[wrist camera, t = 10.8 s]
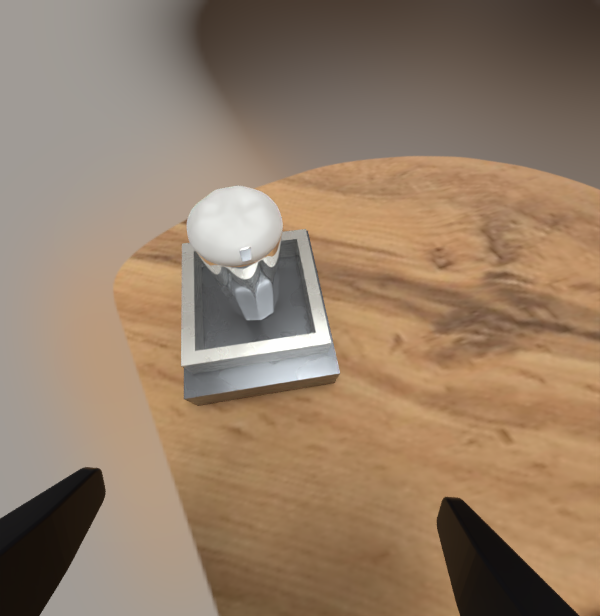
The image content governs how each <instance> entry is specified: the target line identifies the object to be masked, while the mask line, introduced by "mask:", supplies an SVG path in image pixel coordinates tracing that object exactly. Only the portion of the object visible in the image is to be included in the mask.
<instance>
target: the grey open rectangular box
mask: <svg viewBox="0 0 600 616" xmlns="http://www.w3.org/2000/svg"><path fill="white" fill-rule="evenodd" d="M181 366H182V367H183V368H184V399H185V400H187V401H189V402H191V403H194V404H196V405H198V406H199V405H205V404H211V403H217V402H223V401H229V400H235V399H240V398H246V397H252V396H258V395H264V394H270V393H276V392H282V391H288V390H294V389H300V388H306V387H312V386H318V385H324V384H330V383H335V381H336V379H337V378H338V376H339V374H340V371H339V366H338V362H337V358H336V353H335V349H334V344H333V340H332V336H331V331H330V327H329V322H328V318H327V313H326V309H325V305H324V300H323V296H322V291H321V287H320V283H319V278H318V274H317V269H316V265H315V261H314V256H313V252H312V247H311V243H310V239H309V234H308V231H306V229H302V230H294V231H285V232H282V240H281V251H280V268H279V292H278V302H277V304H276V307H275V309H274V312H273V313H272V314H270V315H269V316H267V317H265V318H264V319H262V320H246V319H244V318H243V317H242V316H240V315H239V314H237V313H236V312H235V311H234V309H233V308H232V306H231V304H230V303H229V301H228V300H227V298H226V296H225V295H224V293H223V292H222V290H221V288H220V287H219V285H218V284H217V282H216V280H215V279H214V277H213V276H212V274H211V273H210V271H209V270H208V268H207V267H206V265H205V264H204V262H203V261H202V260H201V258H200V257H199V255H198V254H197V252H196V251H195V250H194V249H193V247H192V246H191V244H190V243H184V244H182V332H181Z"/></svg>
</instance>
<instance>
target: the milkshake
mask: <svg viewBox="0 0 600 616" xmlns="http://www.w3.org/2000/svg"><path fill="white" fill-rule="evenodd" d="M282 229H283V222H282V217H281V214H280V211H279V209H278V207H277V205H276V204H275V203H274V201H273V200H272V199H271V198H270V197H269V196H267V195H266V194H265V193H263V192H261V191H258V190H255V189H252V188H248V187H244V186H232V187H227V188H221V189H217V190H215V191H213V192H211V193H210V194H209V195H207V196H206V197H205V198H204V199H203V200H201V201H200V202H198V203H197V204H196V205H195V206H194V208H192V210H191V212H190V214H189V216H188V220H187V234H188V238H189V241H190V244H191V246H192V247H193V249H194V250H195V251H196V252H197V254H198V255H199V257H200V258H201V260H202V261H203V262H204V264H205V265H206V267H207V268H208V270H209V271H210V273H211V274H212V276H213V277H214V279H215V280H216V282H217V284H218V285H219V287H220V288H221V290H222V292H223V293H224V295H225V296H226V298H227V300H228V301H229V303H230V304H231V306H232V308H233V309H234V311H235V312H236V313H237V314H239V315H240V316H242V317H243V318H244V319H246V320H262V319H264V318H265V317H267V316H269V315H270V314H272V313H273V312H274V309H275V307H276V304H277V302H278V292H279V268H280V251H281V240H282Z"/></svg>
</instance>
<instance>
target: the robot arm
mask: <svg viewBox="0 0 600 616" xmlns="http://www.w3.org/2000/svg"><path fill="white" fill-rule="evenodd" d="M105 492H106V491H105V485H104V480H103V475H102V471H101V470H100V469H99V468H90V467H85V468H82V469H80V470H78V471H76V472H75V473H73V474H72V475H70V476H68V477H67V478H65V479H63V480H62V481H60V482H59V483H57V484H55V485H54V486H52V487H51V488H49V489H47V490H46V491H44V492H42V493H41V494H39V495H38V496H36V497H34V498H33V499H31V500H30V501H28V502H26V503H25V504H23V505H21V506H20V507H18V508H16V509H15V510H13V511H12V512H10V513H8V514H7V515H5V516H4V517H2V518H0V616H39V615H40V614H41V612H42V611H43V609H44V607H45V606H46V604H47V603H48V601H49V599H50V597H51V596H52V594H53V593H54V591H55V590H56V588H57V586H58V585H59V583H60V581H61V580H62V578H63V576H64V575H65V573H66V571H67V570H68V568H69V566H70V564H71V562H72V561H73V559H74V557H75V555H76V553H77V551H78V549H79V547H80V545H81V543H82V541H83V539H84V537H85V535H86V534H87V532H88V529H89V528H90V526H91V524H92V522H93V520H94V518H95V516H96V514H97V512H98V510H99V508H100V506H101V505H102V503H103V500H104V498H105ZM437 529H438V534H439V538H440V541H441V545H442V549H443V553H444V557H445V561H446V565H447V569H448V573H449V577H450V581H451V585H452V589H453V593H454V596H455V600H456V603H457V607H458V610H459V613H460V616H579V615H578V614H577V613H576V612H575V611H574V610H573V609H572V608H571V607H570V606H569V605H568V604H567V603H566V602H565V601H564V600H563V599H562V598H561V597H560V596H559V595H558V594H557V593H556V592H555V591H554V590H553V589H552V588H551V587H550V586H549V585H548V584H547V583H546V582H545V581H544V580H543V579H542V578H541V577H540V576H539V575H538V574H537V573H536V572H535V571H534V570H533V569H532V568H531V567H530V566H529V565H528V564H527V563H526V562H525V561H524V560H523V559H522V558H521V557H520V556H519V555H518V554H517V553H516V552H515V551H514V550H513V549H512V548H511V547H510V546H509V545H508V544H507V543H506V542H505V541H504V540H503V539H502V538H501V537H500V536H499V535H498V534H497V533H496V532H495V531H494V530H493V529H492V528H491V527H490V526H489V525H488V524H487V523H486V522H484V521H483V520H482V519H481V518H480V517H479V516H478V515H477V514H476V513H475V512H474V511H473V510H472V509H471V508H470V507H469V506H468V505H467V504H466V503H465V502H464V501H463V500H462V499H460V498H455V497H444V498H443V500H442V503H441V506H440V510H439V513H438V517H437Z"/></svg>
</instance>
